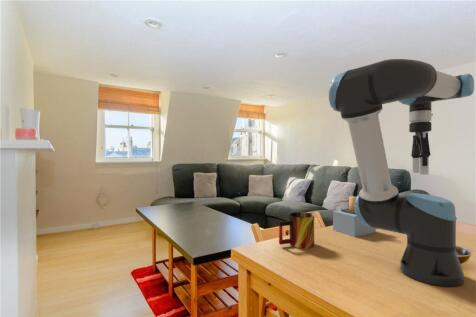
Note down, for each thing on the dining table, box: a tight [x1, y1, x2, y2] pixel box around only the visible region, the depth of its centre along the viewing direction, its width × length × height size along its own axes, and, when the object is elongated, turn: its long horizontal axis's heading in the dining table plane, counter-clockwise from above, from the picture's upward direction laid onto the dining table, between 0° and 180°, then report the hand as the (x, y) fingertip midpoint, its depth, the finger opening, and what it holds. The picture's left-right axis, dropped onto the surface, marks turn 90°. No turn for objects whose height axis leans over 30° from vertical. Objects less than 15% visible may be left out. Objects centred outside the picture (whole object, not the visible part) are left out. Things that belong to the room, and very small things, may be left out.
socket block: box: [332, 207, 377, 238], centre depth 122 cm, size 14×12×10 cm
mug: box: [278, 211, 315, 250], centre depth 103 cm, size 10×14×12 cm
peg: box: [348, 196, 357, 211], centre depth 122 cm, size 4×4×10 cm
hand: (419, 173), depth 107 cm, fingers open, 13 cm apart
